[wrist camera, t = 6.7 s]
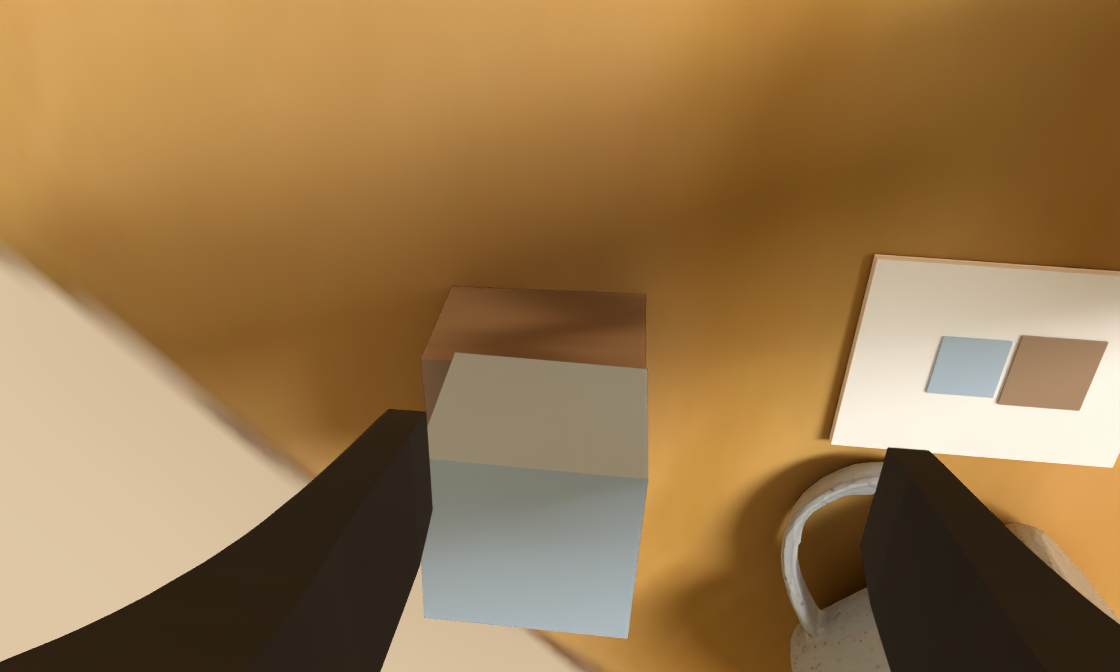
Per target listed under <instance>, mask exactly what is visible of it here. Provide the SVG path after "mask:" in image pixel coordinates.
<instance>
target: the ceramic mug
mask: <svg viewBox="0 0 1120 672" xmlns="http://www.w3.org/2000/svg"><path fill="white" fill-rule="evenodd" d="M883 463H884V462H867V463H859V464H854V465H851V466H847V467H844V468H842V469H839V470H837V471H835V472H833V473H831V474H828V475H826V476H824V477H823V478H821V479H820V480H818V481H817V482H816V483H814V484H813V485H812V486H810V487H809V488H808V489H807V490H806V491H804V492H803V494H802V495H801V496H800V498H799V499H798V501H797V502H796V503H795V505H794V506H793V508H792V510H791V512H790V514H789V516H788V518H787V522H786V527H785V530H784V535H783V540H782V546H781V565H782V569H781V570H782V574H783V579H784V583H785V586H786V589H787V593H788V596H789V599H790V601H791V604H792V606H793V608H794V610H795V613H796V615H797V617H798V618H799V620H800V623H799V624H798V625H797V626H796V627H795V629H794V631H793V633H792V636H791V640H790V659H791V670H792V672H891V671H890V668H889V665H888V661H887V658H886V655H885V652H884V649H883V645H882V642H881V639H880V636H879V632H878V629H877V626H876V623H875V619H874V616H873V613H872V609H871V606H870V601H869V595H868V590H867V587H866V588H864V589H862V590H860V591H858V592H856V593H854V594H852V595H851V596H849V597H846V598H844V599H842V600H840V601H838V602H836V603H834V604H833V605H831V606H829V607H827V608H825V609H822V610H820V609H819V608H818V606H817V605H816V604H815V601H814V599H813V598H812V596H811V594H810V592H809V590H808V588H807V586H806V584H805V581H804V579H803V576H802V573H801V570H800V566H799V561H798V557H797V553H798V545H799V544H800V542H801V534H802V530H803V526H804V524H805V521H806V520H807V519H808V518H809V516H810V515H811V514H812V513H813V512H814V511H816V510H818V509H819V508H820V507H822V506H824V505H826V504H828V503H830V502H832V501H834V500H836V499H838V498H840V497H844V496H848V495H872V494H874V493H875V491H876V488H877V484H878V480H879V477H880V473H881V470H882V466H883ZM1005 526H1006V527H1007V528H1008V529H1009V530H1010V531H1011V532H1012V533H1013V534H1014V535H1015V536H1017V537H1018V538H1019V539H1020V540H1021V541H1022V542H1023V543H1024V544H1025V545H1026V546H1027V547H1028V548H1029V549H1030V550H1032V551H1033V552H1034V553H1035V554H1036V555H1037V556H1038V557H1039V558H1040V559H1041V560H1043V561H1044V562H1045V563H1046V564H1047V565H1048V566H1049V567H1050V568H1052V569H1053V570H1054V571H1055V572H1056V573H1057V574H1059V575H1060V576H1061V577H1062V578H1063V579H1064V580H1066V581H1067V582H1068V583H1069V584H1070V585H1071V586H1073V587H1074V588H1075V589H1076V590H1077V591H1078V592H1080V593H1081V594H1082V595H1083V596H1084V597H1085V598H1087V599H1088V600H1089V601H1090V602H1092V603H1093V604H1094V605H1095V606H1097V607H1098V608H1099V609H1100V610H1102V611H1103V612H1104V613H1105V614H1107V615H1108V616H1109V617H1111V618H1112V619H1113V620H1115V621H1116V622H1117V623H1119V624H1120V619H1119V618H1118V617H1117V616H1116V614H1115V613H1114V612H1113V610H1112V609H1111V608H1110V607H1109V605H1108V604H1107V603H1106V602H1105V600H1104V599H1103V598H1102V597H1101V595H1100V594H1099V593H1098V591H1097V590H1096V589H1095V588H1094V586H1093V585H1092V584H1091V583H1090V582H1089V580H1088V579H1087V578H1086V577H1085V575H1084V574H1083V573H1082V572H1081V571H1080V569H1079V568H1078V567H1077V566H1076V565H1075V564H1074V562H1073V561H1072V560H1071V559H1070V558H1069V557H1068V556H1067V555H1066V553H1065V552H1064V551H1063V550H1062V549H1061V548H1060V547H1059V546H1058V545H1057V544H1056V543H1055V542H1054V541H1053V540H1052V539H1051V538H1050V537H1049V536H1047V535H1046V534H1045V533H1044V532H1043V531H1041V530H1039V529H1037V528H1035V527H1032V526H1029V525H1024V524H1020V523H1007V524H1005Z"/></svg>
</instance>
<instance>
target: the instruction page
mask: <svg viewBox="0 0 1120 672" xmlns="http://www.w3.org/2000/svg"><path fill="white" fill-rule="evenodd" d="M829 440H830V443H831V445H844V446H856V447H868V448H880V449H887V448H888V447H892V448H905V449H918V450H929V451H930V452H931V453H940V454H953V455H965V456H977V457H989V458H1001V459H1013V460H1025V461H1037V462H1049V463H1062V464H1074V465H1086V466H1098V467H1110V468H1112V467H1113V465H1114V463H1115V461H1116V459H1117V457H1118V455H1119V453H1120V271H1109V270H1095V269H1080V268H1066V267H1052V266H1038V265H1023V264H1009V263H995V262H981V261H966V260H952V259H938V258H924V257H909V256H895V255H881V254H875V256H874V260H873V264H872V268H871V272H870V276H869V280H868V284H867V288H866V292H865V296H864V300H863V304H862V308H861V312H860V316H859V320H858V324H857V328H856V332H855V336H854V340H853V344H852V348H851V352H850V356H849V360H848V364H847V368H846V372H845V376H844V380H843V384H842V388H841V392H840V396H839V400H838V404H837V408H836V413H835V417H834V421H833V425H832V429H831V433H830V437H829Z"/></svg>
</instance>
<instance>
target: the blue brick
mask: <svg viewBox="0 0 1120 672" xmlns="http://www.w3.org/2000/svg"><path fill="white" fill-rule="evenodd" d="M427 429H428V444H429V459H430V474H431V489H432V505H433V511H432V516H431V520H430V524H429V529H428V533H427V538H426V542H425V546H424V550H423V554H422V558H421V566H422V585H423V606H424V618H432V619H442V620H451V621H461V622H471V623H480V624H489V625H499V626H509V627H519V628H528V629H538V630H548V631H557V632H567V633H577V634H586V635H596V636H606V637H616V638H625V639H628V632H629V624H630V616H631V608H632V601H633V593H634V585H635V577H636V570H637V562H638V554H639V546H640V539H641V531H642V523H643V516H644V508H645V500H646V492H647V485H648V369H640V368H629V367H617V366H606V365H594V364H583V363H571V362H560V361H548V360H537V359H525V358H514V357H502V356H491V355H479V354H468V353H456V352H455V354H454V357H453V359H452V362H451V365H450V367H449V370H448V373H447V375H446V378H445V381H444V384H443V386H442V389H441V392H440V394H439V397H438V400H437V402H436V405H435V408H434V411H433V413H432V416H431V419H430V421H429V424H428V427H427Z"/></svg>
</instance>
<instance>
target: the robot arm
mask: <svg viewBox="0 0 1120 672" xmlns="http://www.w3.org/2000/svg"><path fill="white" fill-rule="evenodd" d="M432 511H433V505H432V489H431V474H430V459H429V444H428V429H427V413H426V412H421V411H408V410H395V409H389V410H387V411H386V412H385V413H384V414H383V415H381V416H380V417H379V418H378V419H377V420H376V421H375V422H374V423H373V424H372V425H371V426H370V427H369V428H368V429H367V430H366V431H365V432H364V433H363V434H362V435H361V436H360V437H359V438H358V439H356V440H355V441H354V442H353V443H352V444H351V445H350V446H349V447H348V448H347V449H346V450H345V451H344V452H343V453H342V454H341V455H340V456H339V457H338V458H337V459H335V460H334V461H333V462H332V463H331V464H330V465H329V466H328V467H327V468H326V469H324V470H323V471H322V472H321V473H320V474H319V475H318V476H317V477H316V478H314V479H313V480H312V481H311V482H310V483H309V484H308V485H307V486H306V487H304V488H303V489H302V490H301V491H300V492H299V493H297V494H296V495H295V496H294V497H292V498H291V499H290V500H289V501H288V502H286V503H285V504H284V505H283V506H281V507H280V508H279V509H278V510H276V511H275V512H274V513H273V514H272V515H271V516H269V517H268V518H267V519H265V520H264V521H263V522H262V523H260V524H259V525H258V526H256V527H255V528H254V529H252V530H251V531H250V532H249V533H247V534H246V535H244V536H243V537H241V538H240V539H238V540H237V541H235V542H234V543H232V544H231V545H230V546H228V547H226V548H225V549H224V550H222V551H221V552H219V553H218V554H216V555H215V556H213V557H212V558H210V559H208V560H207V561H205V562H204V563H202V564H200V565H199V566H197V567H195V568H193V569H192V570H190V571H188V572H187V573H185V574H183V575H181V576H180V577H178V578H176V579H175V580H173V581H171V582H169V583H168V584H166V585H164V586H163V587H161V588H159V589H157V590H156V591H154V592H152V593H150V594H149V595H147V596H145V597H143V598H141V599H139V600H137V601H136V602H134V603H132V604H130V605H128V606H126V607H124V608H122V609H120V610H118V611H116V612H114V613H112V614H110V615H108V616H106V617H104V618H101V619H99V620H97V621H95V622H93V623H91V624H89V625H87V626H85V627H82V628H80V629H78V630H76V631H73V632H71V633H69V634H67V635H65V636H62V637H60V638H58V639H55V640H53V641H50V642H48V643H45V644H43V645H40V646H38V647H36V648H33V649H31V650H28V651H26V652H23V653H21V654H19V655H16V656H14V657H11V658H8V659H6V660H4V661H1V662H0V672H380V671H381V668H382V666H383V663H384V660H385V658H386V655H387V653H388V650H389V647H390V644H391V642H392V639H393V637H394V634H395V631H396V629H397V626H398V623H399V621H400V618H401V615H402V613H403V610H404V607H405V604H406V602H407V599H408V596H409V594H410V591H411V588H412V586H413V583H414V580H415V577H416V575H417V572H418V569H419V566H420V562H421V558H422V554H423V550H424V546H425V542H426V538H427V533H428V529H429V524H430V520H431V516H432ZM860 547H861V554H862V560H863V566H864V573H865V579H866V584H867V590H868V595H869V601H870V606H871V609H872V613H873V616H874V619H875V623H876V626H877V629H878V632H879V636H880V639H881V642H882V645H883V649H884V652H885V655H886V658H887V661H888V665H889V668H890V671H891V672H1120V624H1119V623H1117V622H1116V621H1115V620H1113V619H1112V618H1111V617H1109V616H1108V615H1107V614H1105V613H1104V612H1103V611H1102V610H1100V609H1099V608H1098V607H1097V606H1095V605H1094V604H1093V603H1092V602H1090V601H1089V600H1088V599H1087V598H1085V597H1084V596H1083V595H1082V594H1081V593H1080V592H1078V591H1077V590H1076V589H1075V588H1074V587H1073V586H1071V585H1070V584H1069V583H1068V582H1067V581H1066V580H1064V579H1063V578H1062V577H1061V576H1060V575H1059V574H1057V573H1056V572H1055V571H1054V570H1053V569H1052V568H1050V567H1049V566H1048V565H1047V564H1046V563H1045V562H1044V561H1043V560H1041V559H1040V558H1039V557H1038V556H1037V555H1036V554H1035V553H1034V552H1033V551H1032V550H1030V549H1029V548H1028V547H1027V546H1026V545H1025V544H1024V543H1023V542H1022V541H1021V540H1020V539H1019V538H1018V537H1017V536H1015V535H1014V534H1013V533H1012V532H1011V531H1010V530H1009V529H1008V528H1007V527H1006V526H1005V525H1004V524H1003V523H1002V522H1001V521H1000V520H999V519H998V518H997V517H996V516H995V515H994V514H993V513H992V512H991V511H990V510H989V509H988V508H987V507H986V506H985V505H984V504H983V503H982V502H981V501H980V500H979V499H978V498H977V497H976V496H975V495H974V494H973V493H972V492H971V491H970V490H969V489H968V488H967V487H966V486H965V485H964V484H963V483H962V482H961V481H960V480H959V479H958V478H957V477H956V476H955V475H954V474H953V473H952V472H951V471H950V470H949V469H948V468H947V467H946V466H945V465H944V464H943V463H941V462H940V461H939V460H938V459H937V458H936V457H935V456H934V455H933V454H932V453H931V452H930V451H929V450H918V449H905V448H892V447H888V448H887V452H886V455H885V459H884V463H883V466H882V470H881V473H880V477H879V480H878V484H877V488H876V491H875V495H874V498H873V502H872V505H871V509H870V513H869V516H868V520H867V523H866V527H865V530H864V534H863V538H862V541H861V545H860Z"/></svg>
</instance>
